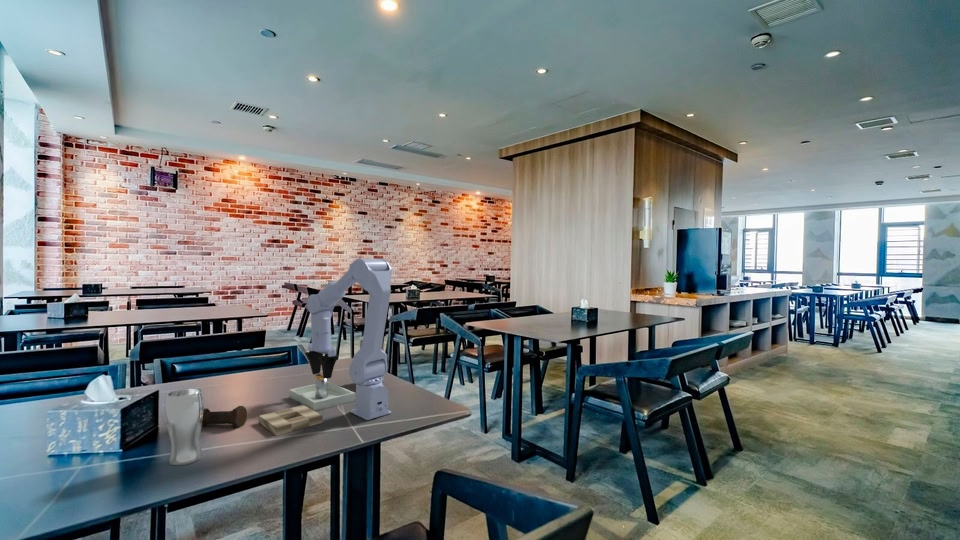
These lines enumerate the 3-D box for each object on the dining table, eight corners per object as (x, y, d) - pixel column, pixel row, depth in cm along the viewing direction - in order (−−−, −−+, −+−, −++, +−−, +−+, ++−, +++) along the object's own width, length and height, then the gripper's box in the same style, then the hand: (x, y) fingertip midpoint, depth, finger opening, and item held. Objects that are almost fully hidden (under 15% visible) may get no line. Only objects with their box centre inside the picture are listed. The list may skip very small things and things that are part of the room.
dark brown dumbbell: (188, 431, 118) (244, 430, 117) (176, 428, 113) (234, 427, 113) (195, 409, 120) (249, 407, 120) (183, 405, 116) (239, 403, 116)
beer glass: (163, 459, 97) (162, 391, 97) (200, 449, 102) (199, 385, 102) (170, 470, 92) (168, 399, 92) (208, 459, 97) (207, 392, 97)
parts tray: (355, 400, 137) (355, 392, 137) (314, 411, 127) (314, 402, 127) (328, 388, 149) (327, 381, 149) (289, 397, 140) (289, 389, 140)
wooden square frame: (322, 422, 119) (322, 415, 119) (276, 435, 110) (276, 427, 110) (303, 411, 127) (303, 404, 127) (259, 422, 118) (259, 415, 118)
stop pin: (329, 397, 138) (329, 375, 138) (318, 399, 136) (318, 377, 135) (324, 394, 141) (323, 372, 141) (313, 397, 138) (313, 375, 138)
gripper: (298, 331, 140) (299, 374, 140) (319, 337, 130) (320, 383, 130) (319, 329, 145) (320, 370, 145) (341, 334, 135) (342, 378, 135)
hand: (321, 375), depth 138 cm, fingers open, 7 cm apart
